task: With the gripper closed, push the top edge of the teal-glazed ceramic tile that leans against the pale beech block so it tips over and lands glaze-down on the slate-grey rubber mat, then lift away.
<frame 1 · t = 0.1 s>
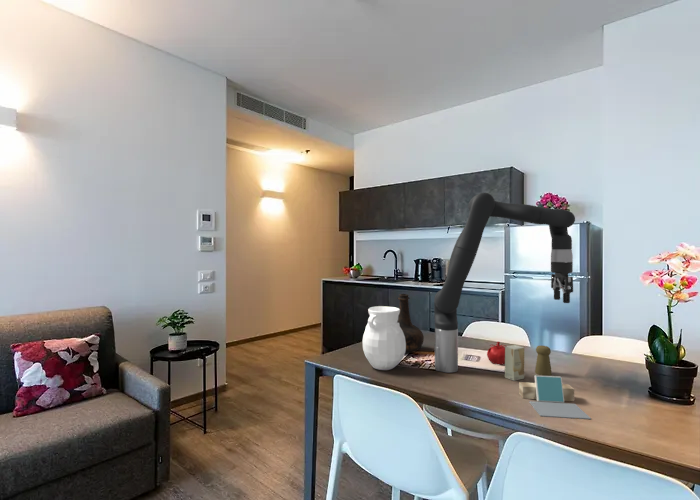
hand: (561, 301, 143), 29 cm above the table, tool pointing down, fingers open, 8 cm apart
beech block: (546, 397, 121), on the table
glass bottle: (405, 351, 177), on the table
skincare box: (514, 378, 139), on the table
mat: (558, 410, 111), on the table
pitcher: (384, 367, 153), on the table
tile: (547, 376, 120), point 8 cm above the table
olive pawn figure: (543, 373, 144), on the table
pomegranate: (499, 362, 158), on the table
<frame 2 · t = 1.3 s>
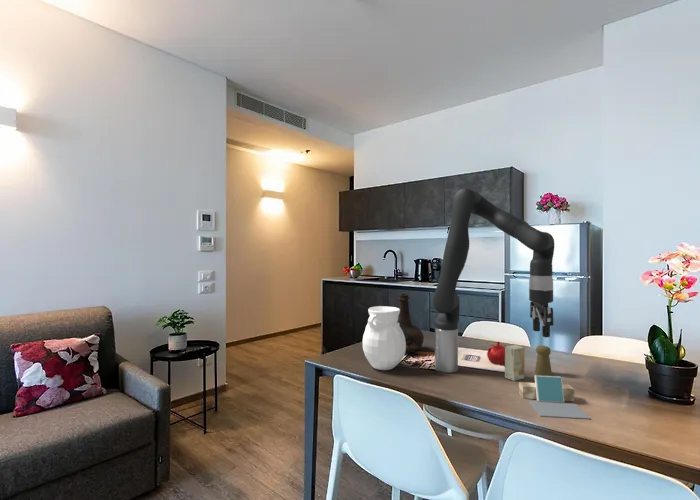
hand: (541, 334, 126), 20 cm above the table, tool pointing down, fingers open, 8 cm apart
nothing on the table moved.
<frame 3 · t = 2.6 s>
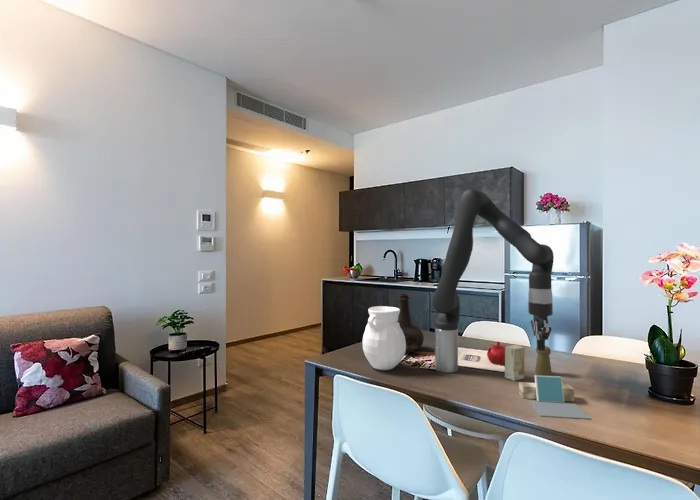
hand: (540, 350, 126), 15 cm above the table, tool pointing down, fingers closed
nothing on the table moved.
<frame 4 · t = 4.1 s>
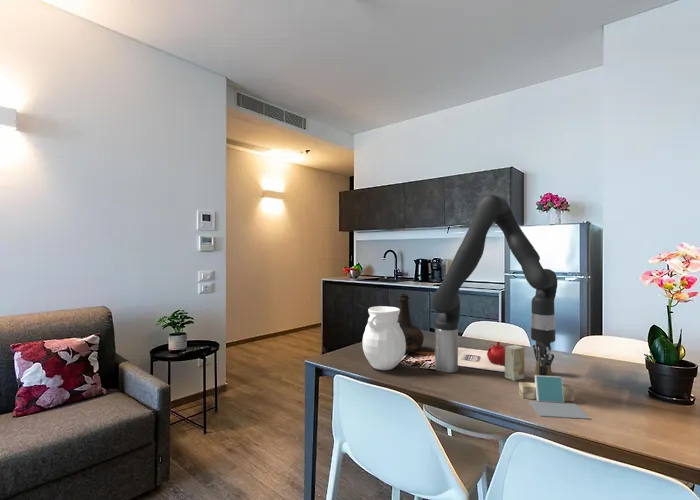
hand: (543, 376, 124), 6 cm above the table, tool pointing down, fingers closed
nothing on the table moved.
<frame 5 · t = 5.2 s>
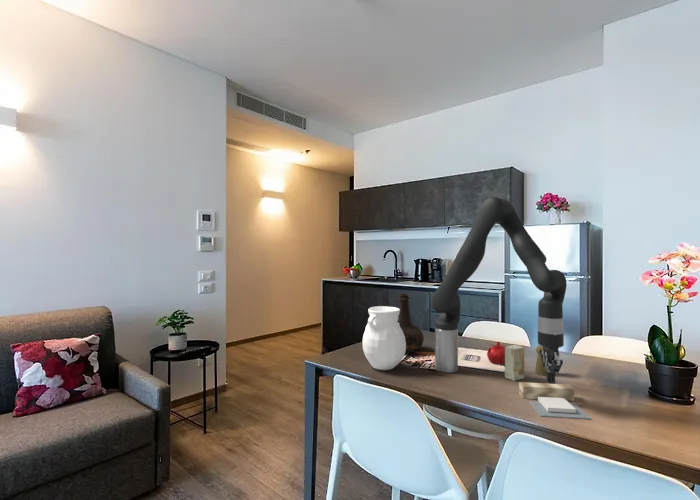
hand: (550, 382, 118), 6 cm above the table, tool pointing down, fingers closed
tile: (561, 410, 109), point 1 cm above the table, tilted 105°, touching mat
everything else where it was.
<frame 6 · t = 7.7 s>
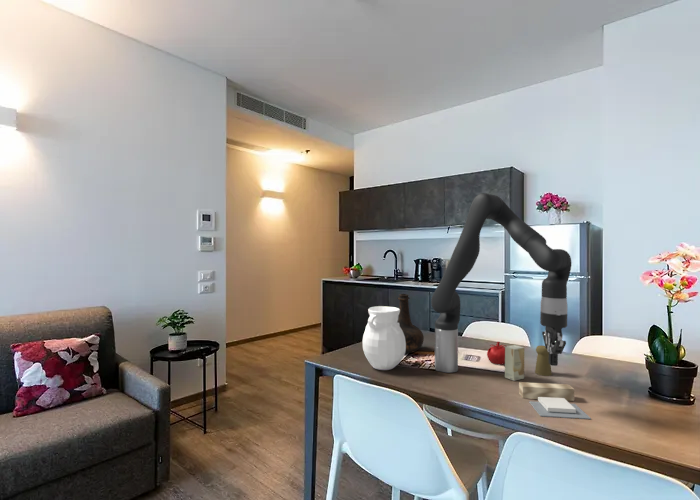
hand: (553, 364, 115), 13 cm above the table, tool pointing down, fingers closed
nothing on the table moved.
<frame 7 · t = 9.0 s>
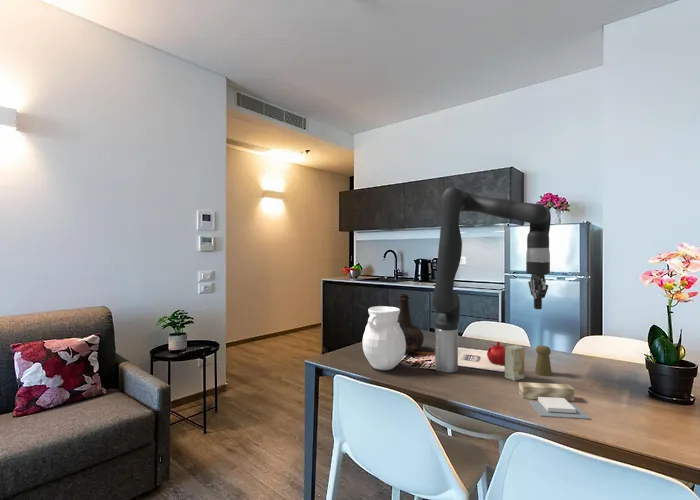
hand: (537, 308, 128), 29 cm above the table, tool pointing down, fingers closed
nothing on the table moved.
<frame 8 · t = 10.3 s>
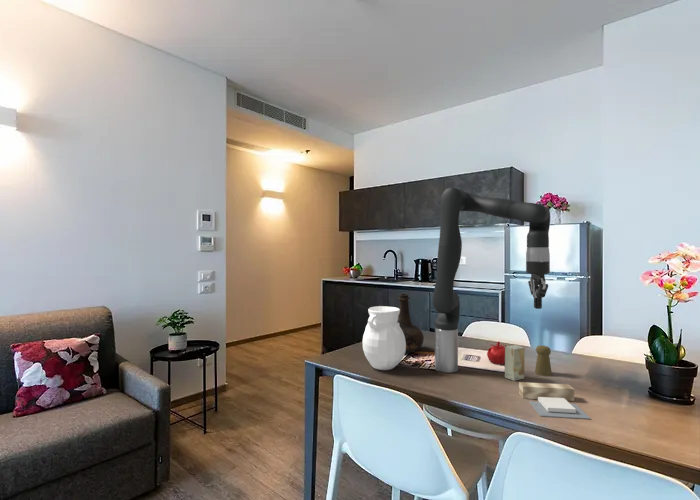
hand: (537, 308, 128), 29 cm above the table, tool pointing down, fingers closed
nothing on the table moved.
at the end: tile inside the target area (0.0 cm from its centre), point 1.1 cm above the table; tile tilted 105° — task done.
